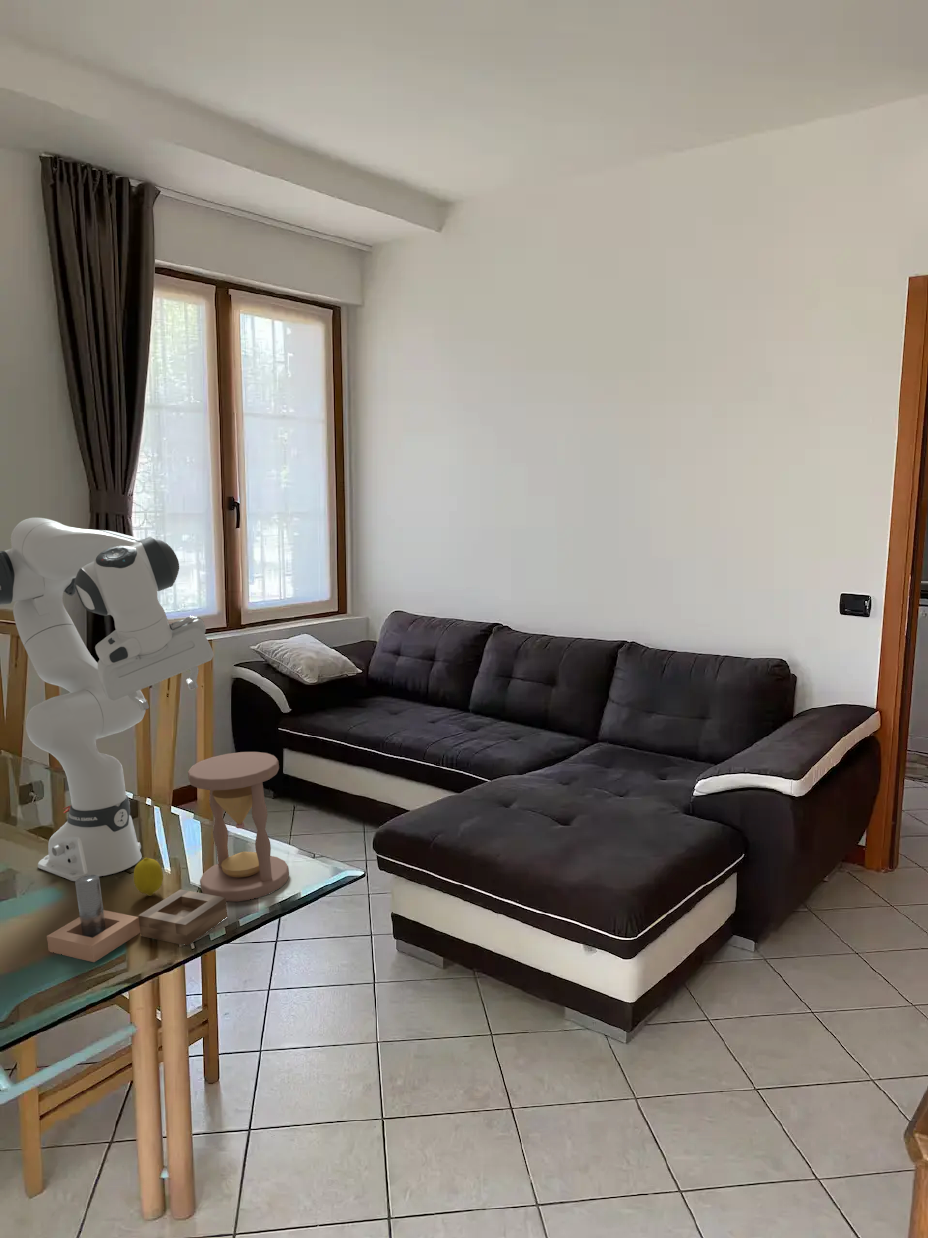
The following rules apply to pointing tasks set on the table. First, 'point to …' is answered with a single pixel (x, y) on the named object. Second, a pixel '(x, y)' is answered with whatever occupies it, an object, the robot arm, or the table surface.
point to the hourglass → (239, 824)
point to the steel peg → (90, 905)
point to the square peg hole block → (183, 917)
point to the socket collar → (94, 948)
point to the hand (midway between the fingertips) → (169, 698)
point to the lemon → (148, 876)
